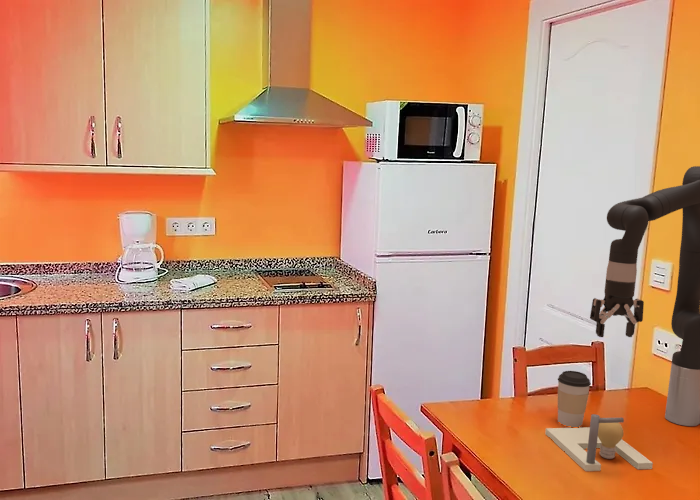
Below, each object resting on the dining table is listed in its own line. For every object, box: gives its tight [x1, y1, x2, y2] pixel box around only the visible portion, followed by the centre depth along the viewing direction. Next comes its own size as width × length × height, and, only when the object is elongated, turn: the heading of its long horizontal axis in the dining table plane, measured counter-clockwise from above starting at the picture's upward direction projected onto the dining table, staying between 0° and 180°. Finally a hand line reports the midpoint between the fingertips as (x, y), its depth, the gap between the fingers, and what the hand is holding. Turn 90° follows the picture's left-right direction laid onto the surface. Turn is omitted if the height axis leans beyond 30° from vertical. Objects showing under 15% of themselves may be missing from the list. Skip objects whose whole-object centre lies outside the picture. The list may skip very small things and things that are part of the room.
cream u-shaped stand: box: [544, 413, 654, 472], centre depth 178 cm, size 18×22×14 cm
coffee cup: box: [557, 370, 592, 428], centre depth 195 cm, size 9×9×15 cm
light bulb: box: [598, 423, 624, 460], centre depth 174 cm, size 6×6×10 cm
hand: (614, 336), depth 186 cm, fingers open, 8 cm apart
